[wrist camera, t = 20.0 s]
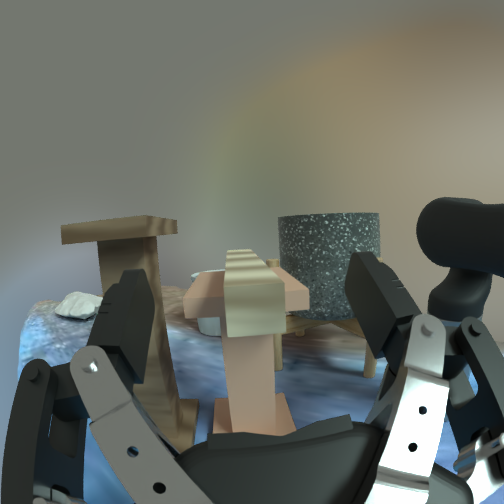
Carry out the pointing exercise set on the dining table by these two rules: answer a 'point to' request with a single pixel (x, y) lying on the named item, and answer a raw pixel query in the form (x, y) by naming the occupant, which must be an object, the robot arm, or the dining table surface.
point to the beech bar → (252, 296)
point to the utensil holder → (208, 324)
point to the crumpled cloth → (78, 305)
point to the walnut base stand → (159, 357)
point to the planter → (324, 270)
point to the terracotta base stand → (246, 360)
